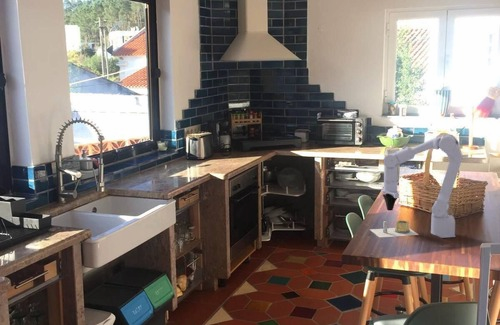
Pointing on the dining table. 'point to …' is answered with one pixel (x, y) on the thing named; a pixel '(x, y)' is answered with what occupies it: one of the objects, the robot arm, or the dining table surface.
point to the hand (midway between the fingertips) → (389, 210)
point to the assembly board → (391, 231)
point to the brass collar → (402, 226)
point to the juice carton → (389, 151)
